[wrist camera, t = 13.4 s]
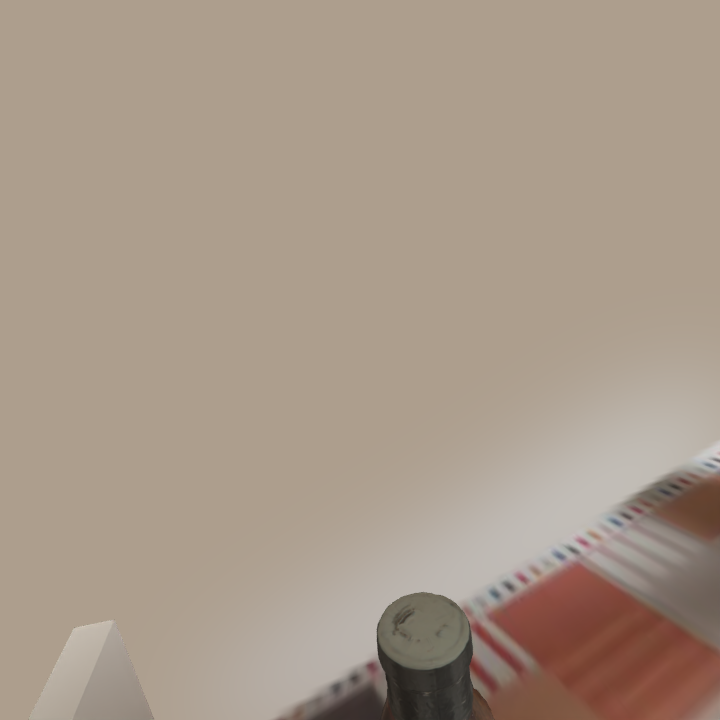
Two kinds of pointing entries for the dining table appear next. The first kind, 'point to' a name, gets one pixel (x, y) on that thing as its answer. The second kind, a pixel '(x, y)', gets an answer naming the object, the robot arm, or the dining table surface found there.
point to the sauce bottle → (428, 661)
